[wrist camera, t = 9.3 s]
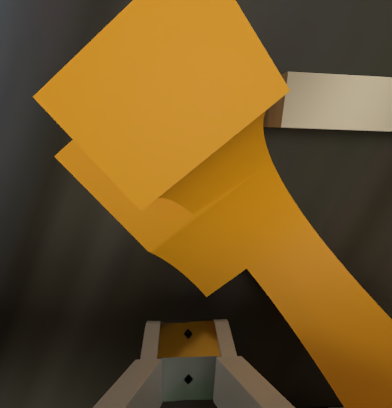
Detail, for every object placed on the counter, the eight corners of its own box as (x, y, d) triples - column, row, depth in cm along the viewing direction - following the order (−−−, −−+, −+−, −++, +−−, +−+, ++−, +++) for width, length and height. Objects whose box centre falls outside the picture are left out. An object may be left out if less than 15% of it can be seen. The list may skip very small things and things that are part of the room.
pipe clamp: (94, 146, 9) (-59, 185, 3) (183, 67, 9) (197, -62, 3) (268, 335, 13) (352, 530, 7) (341, 286, 12) (509, 451, 6)
